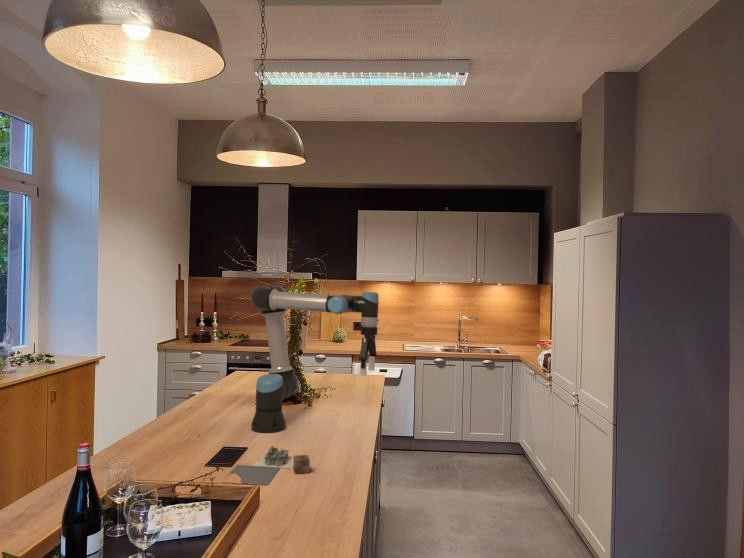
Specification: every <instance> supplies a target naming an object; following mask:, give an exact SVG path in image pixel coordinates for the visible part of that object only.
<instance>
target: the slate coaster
mask: <svg viewBox="0 0 744 558" xmlns="http://www.w3.org/2000/svg"><path fill="white" fill-rule="evenodd" d="M280 469H282V468H281V467H265V466H254V465H249V464H248V465H247V464H246V465H245V464H237V465H236V466H234V467H233V468H232V469H231V471H230V472H229V473H228V474H227V475H229V474H234V473H235V474H237V475H238V476H239V477H240V478H241V481H240V482H241V483H249V484H248V485H253V484H259V485H258V486H269V485H270V484H271V482H272V481H273V479H274V478H275V477H276V475H277V473H279V471H280ZM250 483H251V484H250Z"/></svg>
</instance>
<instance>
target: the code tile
mask: <svg viewBox="0 0 744 558" xmlns="http://www.w3.org/2000/svg"><path fill="white" fill-rule="evenodd" d="M265 455H266V454H262V456H260V458H258V460H257V461H256V462H255V463H254V464H253V466H265V467H281V468H280V469H291V470H292V469H293V465H294V456H289V455H288V458H287V459H286V461H285V462H283V465H279V466H277V465H266V464H265V459H264V458H265Z"/></svg>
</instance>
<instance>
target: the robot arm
mask: <svg viewBox="0 0 744 558" xmlns="http://www.w3.org/2000/svg"><path fill="white" fill-rule="evenodd" d="M361 293H362V294H361V295H348V294H339V295H331V294H330V295H329V294H328V295H327V294H317V293H315V294H313V293H303V292H291V291H286V289H285V288H283V287H282V286H280V285H278V284H277V285H276V284H271V285H270V284H269V285H267V284H266V285H258V286H257V287H255V288H254V289H253V290H252V292H251V294H250V303H251V305H252V306H253V307H254V308H255V309H256V310H259V311H261V312H260V313H261V316H263V318H265V325H266V326H265V327H266V335H267V344H268V349H269V350H268V351H269V359H270V367H271V368H270V369H269V371H268V373H267V374H263V375H261V376H259V377H258V378H257V380H256V384H255V388H256V389H255V413H254V416H253V418H252V421H251V427H250V428H251V431H254V432H256V433H263V434H265V433H267V434H268V433H269V434H270V433H272V434H273V433H278V431H279V432H282V431H284V430H285V429H286V421H285V417H284V413H283V400H285V399H288V398H290V397H292V396H293V395H294V394H295V393H296V392H297V391H298V389H299V384H300V383H299V379H298V378H299V377H298V376H297V375H296V374H295V373H294V367H292V366H291V365H290V359H289V350H288V341H287V334H286V325H285V318H284V316H285V314H286V312H287V310H294V311H295V310H297V311H309V312H317V313H318V312H319V313H329V314H335V315H340V314H346V313H361V315H360V316H361V319H360V325H361V327H360V334H361V335H362V336H364V337H362V338H361V346H360V352H359V358H358V362H360V368H359V376H362V377H363V376H364V377H366V376H367V373H368V372H367V371H373V372H374V371H375V363H376V362H375V361H376V359H375V358H376V357H377V356H378V355H377V347H376V336H377V335H378V322H380V320H379V319H378V316H379V304H380V302H379V294H378V292H373V291H363V292H361ZM368 355H369V356H368ZM367 360H368V361H367ZM367 364H368V365H367ZM367 367H368V368H367ZM281 430H282V431H281Z"/></svg>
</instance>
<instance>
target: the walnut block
mask: <svg viewBox="0 0 744 558" xmlns="http://www.w3.org/2000/svg"><path fill="white" fill-rule="evenodd" d="M293 457H294V465H293V467H292V469H293V472H294V475H295V476H296V475H309V474H310V467H311V466H310V464H311V463H310V462H311V461H310V460H311V459H310V457H309V454H301V455H300V454H299V455H294V456H293Z"/></svg>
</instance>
